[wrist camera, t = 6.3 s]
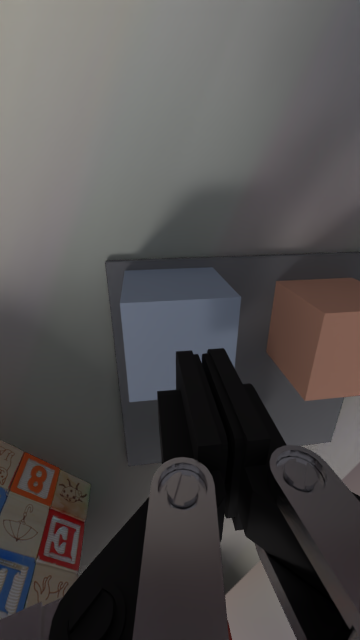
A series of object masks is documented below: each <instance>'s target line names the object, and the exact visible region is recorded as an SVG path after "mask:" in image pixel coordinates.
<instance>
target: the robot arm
mask: <svg viewBox="0 0 360 640" xmlns="http://www.w3.org/2000/svg"><path fill="white" fill-rule="evenodd" d="M157 402H158V421H159V435H160V448H161V460H162V465H161V466H160V467H158V469H157V470H156V472H155V473H154V475H153V478H152V482H151V487H150V496H149V498H148V499H147V500H146V501H145V502H144V504H143V505H142V506H141V507H140V508H139V509H138V510H137V512H136V513H135V514H134V515H133V516H132V517H131V518H130V519H129V521H128V522H127V523H126V524H125V525H124V526H123V527H122V529H121V530H120V531H119V532H118V533H117V534H116V535H115V537H114V538H113V539H112V540H111V541H110V542H109V543H108V545H107V546H106V547H105V548H104V549H103V550H102V551H101V553H100V554H99V555H98V556H97V557H96V558H95V559H94V561H93V562H92V563H91V564H90V565H89V566H88V567H87V569H86V570H85V571H84V572H83V573H82V574H81V575H80V577H79V578H78V579H77V580H76V581H75V582H74V583H73V585H72V586H71V587H70V588H69V589H68V591H67V592H66V594H65V595H64V596H63V597H62V598H59V599H57V600H55V601H53V602H51V603H48V604H46V605H44V606H43V604H42V602H39V603H37V604H35V605H32V606H30V607H28V608H25V609H23V610H21V611H19V612H16V613H14V614H12V615H10V616H7V617H5V618H3V619H1V620H0V640H229V634H228V624H227V614H226V602H225V591H224V581H223V570H222V559H221V548H220V542H221V540H222V531H223V522H224V514H225V517H226V518H232V520H233V523H234V527H235V531H236V530H243V529H244V532H245V536H246V537H247V538H249V539H250V540H252V541H253V542H254V543H255V546H256V550H257V553H258V556H259V558H260V560H261V562H262V564H263V566H264V569H265V571H266V573H267V575H268V578H269V580H270V582H271V584H272V586H273V588H274V591H275V593H276V595H277V597H278V600H279V602H280V604H281V606H282V608H283V610H284V613H285V615H286V617H287V619H288V622H289V624H290V626H291V628H292V630H293V632H294V635H295V637H296V639H297V640H360V496H358V495H356V494H354V493H353V492H351V491H350V490H349V489H348V487H347V486H346V485H345V484H344V483H343V482H342V480H341V479H340V478H339V477H338V476H337V474H336V473H335V472H334V471H333V470H332V469H331V467H330V466H329V465H328V464H327V463H326V462H325V461H324V460H323V459H322V458H321V457H320V456H319V455H317V454H316V453H314V452H313V451H311V450H309V449H307V448H304V447H301V446H296V445H286V443H285V441H284V439H283V438H282V436H281V434H280V432H279V431H278V429H277V427H276V425H275V423H274V422H273V420H272V418H271V416H270V415H269V413H268V411H267V409H266V407H265V406H264V404H263V402H262V400H261V399H260V397H259V395H258V393H257V392H256V390H255V388H254V387H253V385H252V384H250V383H248V384H242V382H241V380H240V378H239V376H238V374H237V372H236V370H235V368H234V366H233V364H232V362H231V360H230V358H229V356H228V355H227V353H226V351H225V349H224V348H218V349H208V350H207V353H205V354H202V363H201V360H200V357H199V355H198V354H193V352H192V350H189V351H176V390H166V391H157Z"/></svg>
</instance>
